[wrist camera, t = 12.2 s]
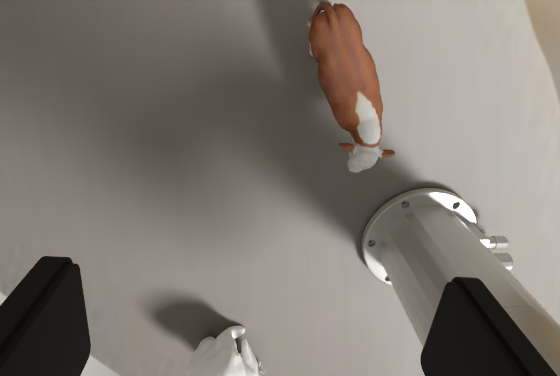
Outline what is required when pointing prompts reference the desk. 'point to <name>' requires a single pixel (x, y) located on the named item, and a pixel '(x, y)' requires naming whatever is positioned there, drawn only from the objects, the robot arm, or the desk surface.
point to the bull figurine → (348, 82)
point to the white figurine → (224, 356)
